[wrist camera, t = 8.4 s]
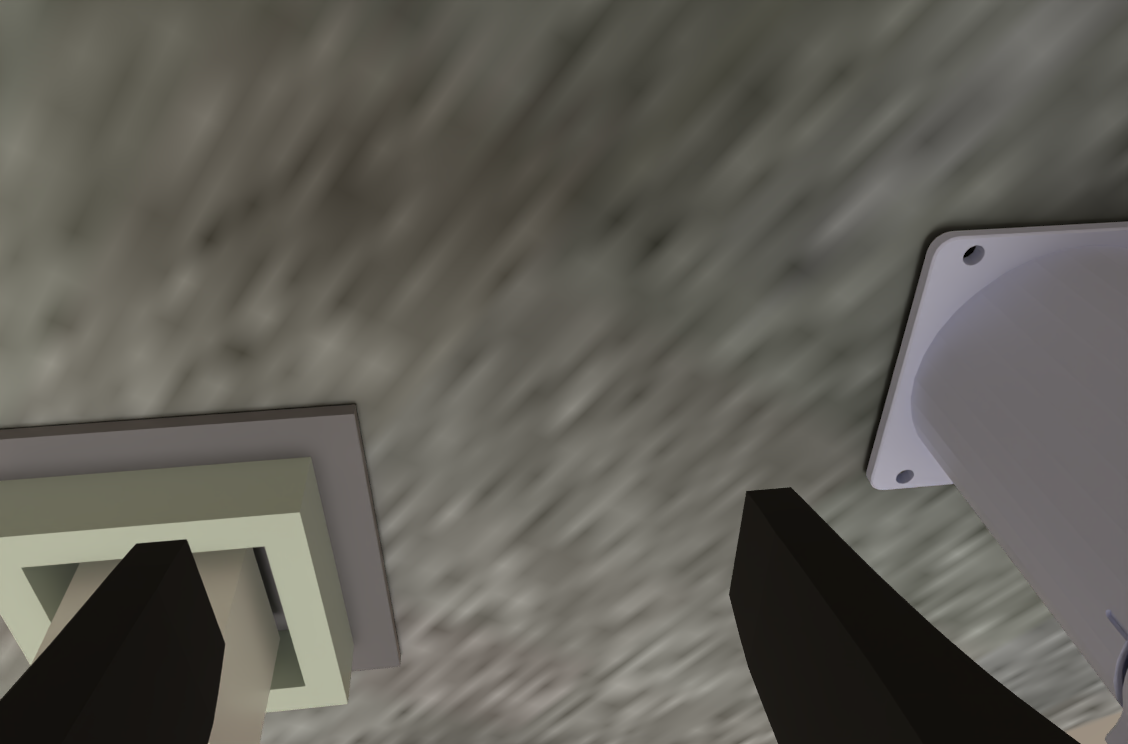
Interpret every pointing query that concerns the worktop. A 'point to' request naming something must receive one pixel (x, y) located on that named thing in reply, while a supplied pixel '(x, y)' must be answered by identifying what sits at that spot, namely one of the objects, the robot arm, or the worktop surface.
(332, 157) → the worktop surface
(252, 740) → the plug
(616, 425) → the worktop surface
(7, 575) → the socket block
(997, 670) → the worktop surface
